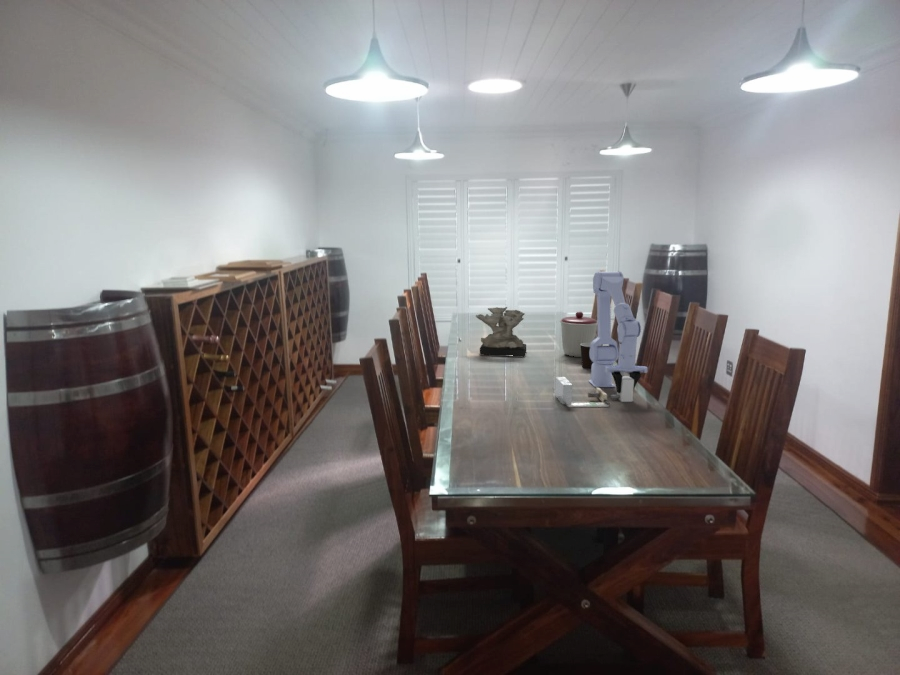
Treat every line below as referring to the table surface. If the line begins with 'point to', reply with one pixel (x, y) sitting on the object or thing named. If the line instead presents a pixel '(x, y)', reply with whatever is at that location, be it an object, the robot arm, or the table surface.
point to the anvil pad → (599, 395)
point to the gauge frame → (565, 394)
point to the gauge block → (625, 390)
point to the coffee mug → (586, 355)
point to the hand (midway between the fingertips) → (624, 392)
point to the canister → (577, 333)
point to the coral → (502, 333)
